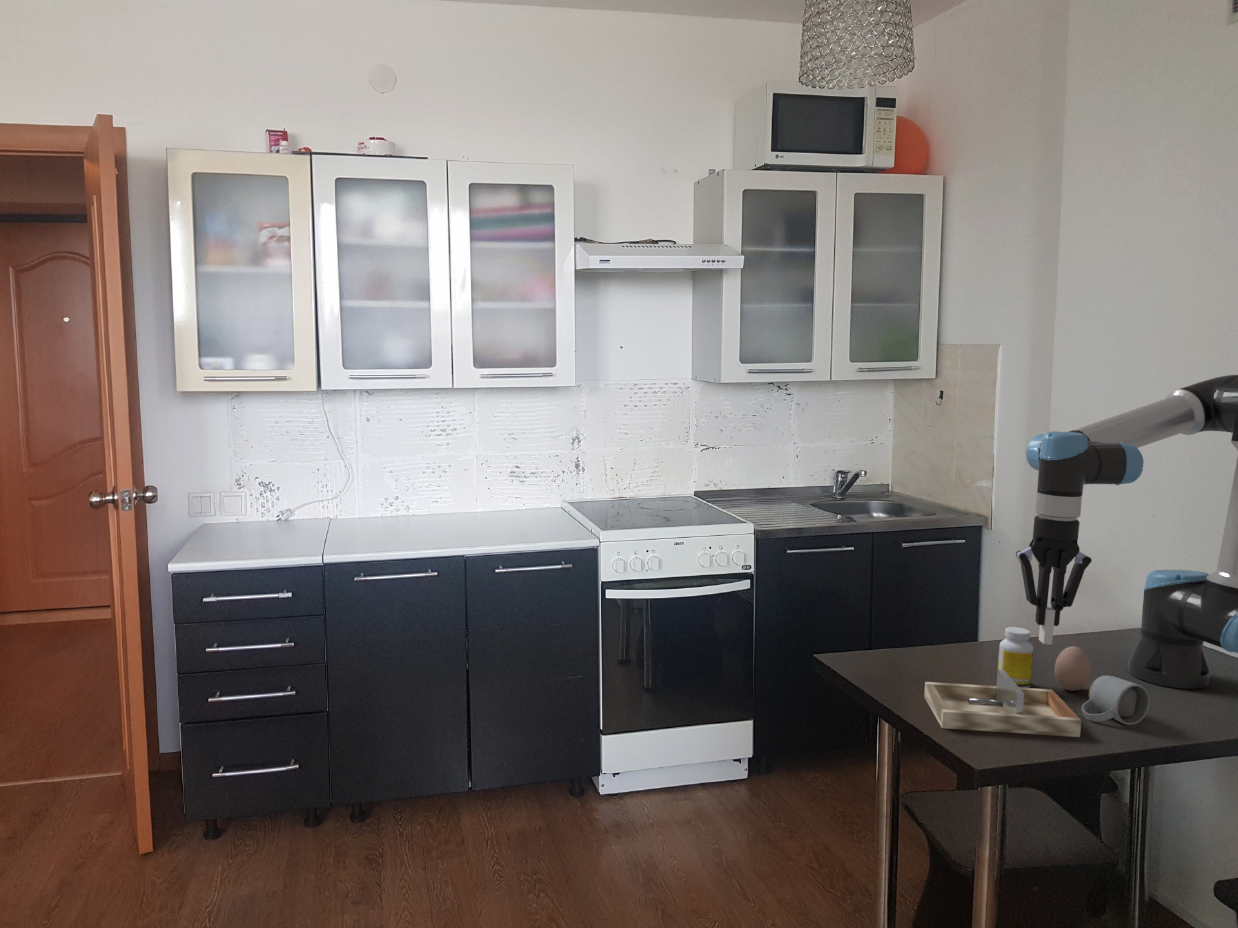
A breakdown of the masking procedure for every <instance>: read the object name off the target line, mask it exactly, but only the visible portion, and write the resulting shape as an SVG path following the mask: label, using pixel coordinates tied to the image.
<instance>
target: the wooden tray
mask: <svg viewBox="0 0 1238 928" xmlns="http://www.w3.org/2000/svg"><path fill="white" fill-rule="evenodd" d="M1020 689H1021V690H1022V692H1023V693H1024V702H1023V714H1009V713H1005V712H1004V710H1003V709H1002V708H1001V707H998V706H982V705H969V704H968V699H969V698H974V699H990V700H995V697H996V685H985V684H984V685H983V684H982V685H981V684H966V683H949V682H935V681H934V682H933V681H925V683H924V693H923V694H924V696H923V697H924V700H925V701H926V702H927V704H928V706H929V708H930V709H931V712H932V713H933V714H934V717H935V718H936V720H937V721H938V724H939V725H940V727H941V728H942V729H949V730H950V729H951V730H966V731H967V730H968V731H980V732H981V731H982V732H997V733H999V732H1000V733H1013V734H1027V735H1040V736H1055V737H1056V736H1059V737H1069V738H1071V737H1073V738H1080V737H1081V730H1082V729H1081V728H1082V720H1081V719H1080V717H1079V716H1077V714H1076V713H1075V712H1074V711H1073V710H1072V709H1071V708H1070V707H1069V706H1068V705H1067V703H1065V701H1063V699H1062V698H1061V697H1059V695H1058V694H1057V693H1056V692H1055V691H1054V690H1053V689H1047V688H1032V687H1029V688H1020Z"/></svg>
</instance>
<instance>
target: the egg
mask: <svg viewBox="0 0 1238 928" xmlns="http://www.w3.org/2000/svg"><path fill="white" fill-rule="evenodd" d="M1091 671H1092V669H1091V663H1090V660H1089V657H1088V655H1087V653H1086V652H1085V651H1084V650H1082V648H1080V647H1078V646H1074V645H1072V646H1068V647H1065V648H1064V649H1063V650H1062V651H1061V652H1060V653H1059V655H1058V656H1057V658H1056V661H1055V663H1054V675H1055V678H1056V680H1057V682H1058V684H1059V685H1060V686H1061V687H1062V688H1063V689H1065V690H1068V691H1070V692H1075V691H1076V692H1077V691H1079V690H1082V689H1083V688H1084V687H1085V686H1087V684H1088V683H1089V681H1090V678H1091V673H1092V672H1091Z"/></svg>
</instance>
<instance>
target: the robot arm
mask: <svg viewBox="0 0 1238 928" xmlns="http://www.w3.org/2000/svg"><path fill="white" fill-rule="evenodd" d="M1201 432H1223V433H1231V439H1230V443H1231V445H1233V446H1234V448H1235V449H1236V450H1237V451H1238V374H1229V375H1224V376H1218V377H1214V378H1210V379H1205V380H1202V381H1200V382H1196V383H1194V384H1191V385H1188V386H1184V387H1181V388H1177V389H1176V390H1173V391H1171V392H1170V393H1168V395H1166V398H1164V399H1161V400H1158V401H1156V402H1152V403H1149V404H1147V405H1144V406H1140V407H1137V408H1135V409H1133V410H1129V411H1126V412H1123V413H1121V414H1117V415H1114V416H1112V417H1107V418H1105V419H1103V420H1099V421H1097V422H1094V423H1091V424H1087V425H1085V426H1082V427H1079V428H1076V429H1073V430H1069V431H1056V430H1055V431H1054V430H1053V431H1048V432H1046V433H1044V434H1043V433H1042V434H1037V435H1035V436H1033V437H1032V439H1030V441H1029V442H1028V444H1027V445H1026V450H1025V457H1026V462H1027V464H1028V465H1029V466H1030V467H1031V468H1032V469H1033V470H1036V471H1038V477H1037V487H1036V490H1037V492H1036V499H1035V500H1036V502H1035V513H1036V514H1037V515H1036V516H1035V517H1034V518H1033V521H1034V522H1033V531H1032V540H1031V541H1030V542H1029V545H1028V547H1027V548H1025V549H1024V550H1022V551H1021V550H1017V551H1016V552H1015V557H1016V558H1017V560H1018V561H1019V563H1020V567H1021V574H1022V579H1023V586H1024V591H1025V592H1024V593H1025V599H1026V600H1027V602H1028V603H1029V604H1031V605H1032V606H1035V607H1036V611H1035V619H1034V620H1035V623H1036V624H1037V625H1038V626H1039V632H1038V634H1039V635H1038V641H1040V643H1042V644H1043V645H1053V638H1054V627H1058V626H1059V625H1060V618H1061V611H1063V610H1064V609H1065V608H1070V607H1072V606H1073V603H1074V601H1075V597H1076V596H1077V592H1078V589H1079V588H1080V584H1081V582H1082V578H1083V575H1084V573H1085V570H1086V569H1087V568H1088V567H1089V565H1090V564H1091V563H1092V558H1091V557H1090V556H1088V555H1086V554H1084V553H1083V552H1081V551H1080V546H1079V544H1078V543H1079V542H1078V540H1079V531H1080V521H1079V520H1078V519H1079V518H1080V517H1081V513H1082V499H1083V491H1084V486H1085V485H1115V486H1120V485H1124V484H1125V485H1126V484H1132V483H1134V482H1136V481H1137V480H1138V479H1139V478H1140V477H1141V476H1142V473H1143V470H1144V468H1143V467H1144V458H1143V454H1142V452H1141V451H1140V449H1139V448H1142V447H1145V446H1147V445H1150V444H1153V443H1156V442H1159V441H1162V440H1165V439H1167V438H1171V437H1174V436H1176V435H1179V434H1182V435H1185V436H1191V435H1195V434H1197V433H1201ZM1232 480H1233V481H1232V485H1231V490H1230V496H1229V500H1228V501H1229V503H1228V507H1227V512H1226V518H1225V523H1224V528H1223V534H1222V540H1221V546H1220V551H1219V557H1218V562H1217V567H1216V570H1215V571H1214V572H1212V573H1210V574H1209V573H1208V572H1204V571H1198V570H1186V569H1157V570H1153V571H1151V572H1149V573H1148V575H1147V576H1146V580H1145V586H1144V589H1143V600H1142V602H1143V603H1142V613H1141V625H1140V626H1141V627H1140V634H1139V635H1140V636H1139V639H1138V640H1137V642H1136V644H1135V647H1134V648H1133V651H1132V653H1131V655H1130V656H1129V658H1128V664H1127V671H1128V673H1129V674H1130V675H1131V676H1133V677H1135V678H1137V679H1140V680H1142V681H1145V682H1147V683H1151V684H1154V685H1158V686H1164V687H1170V688H1175V689H1185V690H1187V689H1188V690H1189V689H1190V690H1191V689H1194V690H1196V689H1204V688H1206V687H1208V686H1209V684H1210V679H1211V678H1210V676H1211V673H1210V669H1209V665H1208V660H1207V657H1206V653H1205V649H1204V643H1207V644H1210V645H1213V646H1215V647H1218V648H1221V649H1223V650H1225V651H1227V652H1229V653H1235V654H1238V456H1237V458H1236V463H1235V469H1234V474H1233V479H1232ZM1032 555H1033V556H1034V558H1035V559H1036V561H1037V562H1038V580H1037V589H1036V586H1035V579H1034V573H1033V571H1034V570H1033V567H1032V563H1031V561H1032V560H1033V557H1032ZM1072 561H1074V563H1073V566H1072V568H1071V571H1070V573H1069V576H1068V579H1067V582H1066V585H1065V576H1066V574H1067V569H1068V568H1067V567H1068V565H1069V564H1070V563H1071V562H1072ZM1052 571H1053V573H1052ZM1051 573H1052V585H1051V595H1050V605H1048V600H1049V591H1050V590H1049V589H1050V582H1051ZM1036 590H1037V591H1036Z"/></svg>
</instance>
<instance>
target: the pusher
mask: <svg viewBox="0 0 1238 928" xmlns="http://www.w3.org/2000/svg"><path fill="white" fill-rule="evenodd" d="M995 686H996V697H995V700H990V699H974V698H969V699H968V704H969V705H982V706H998V707H1001V708H1002V709H1003V710H1004V712H1005V713H1009V714H1023V702H1024V693H1023V692H1022V690H1021V689H1020V688H1019V687H1018V686H1017V685H1016V684H1015V682H1014V681H1013V680H1012V679H1011V678H1010V677H1009V675H1008V674H1007V673H1006V672H1005V671H1004V670H998V669H997V676H996V684H995Z"/></svg>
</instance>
